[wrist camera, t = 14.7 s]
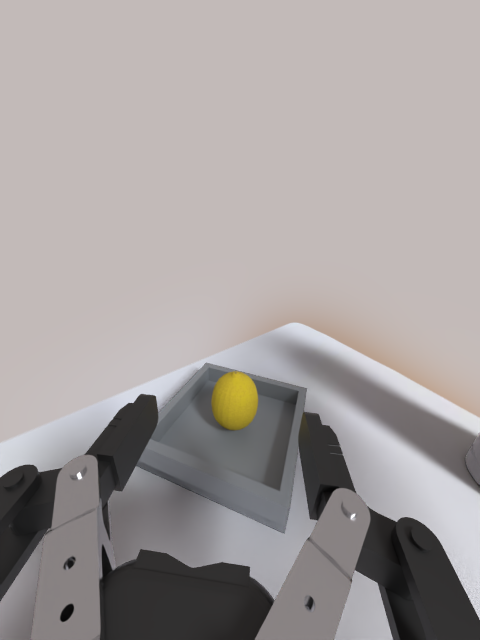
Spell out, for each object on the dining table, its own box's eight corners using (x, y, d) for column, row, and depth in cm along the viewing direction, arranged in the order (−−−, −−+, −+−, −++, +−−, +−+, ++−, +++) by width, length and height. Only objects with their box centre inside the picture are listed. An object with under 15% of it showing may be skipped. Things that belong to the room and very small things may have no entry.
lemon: (219, 406, 31) (220, 356, 29) (258, 415, 30) (263, 363, 27) (204, 439, 26) (203, 382, 24) (251, 451, 25) (256, 392, 22)
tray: (303, 407, 33) (306, 388, 32) (284, 533, 19) (289, 508, 18) (206, 380, 38) (206, 362, 37) (135, 465, 24) (131, 441, 23)
